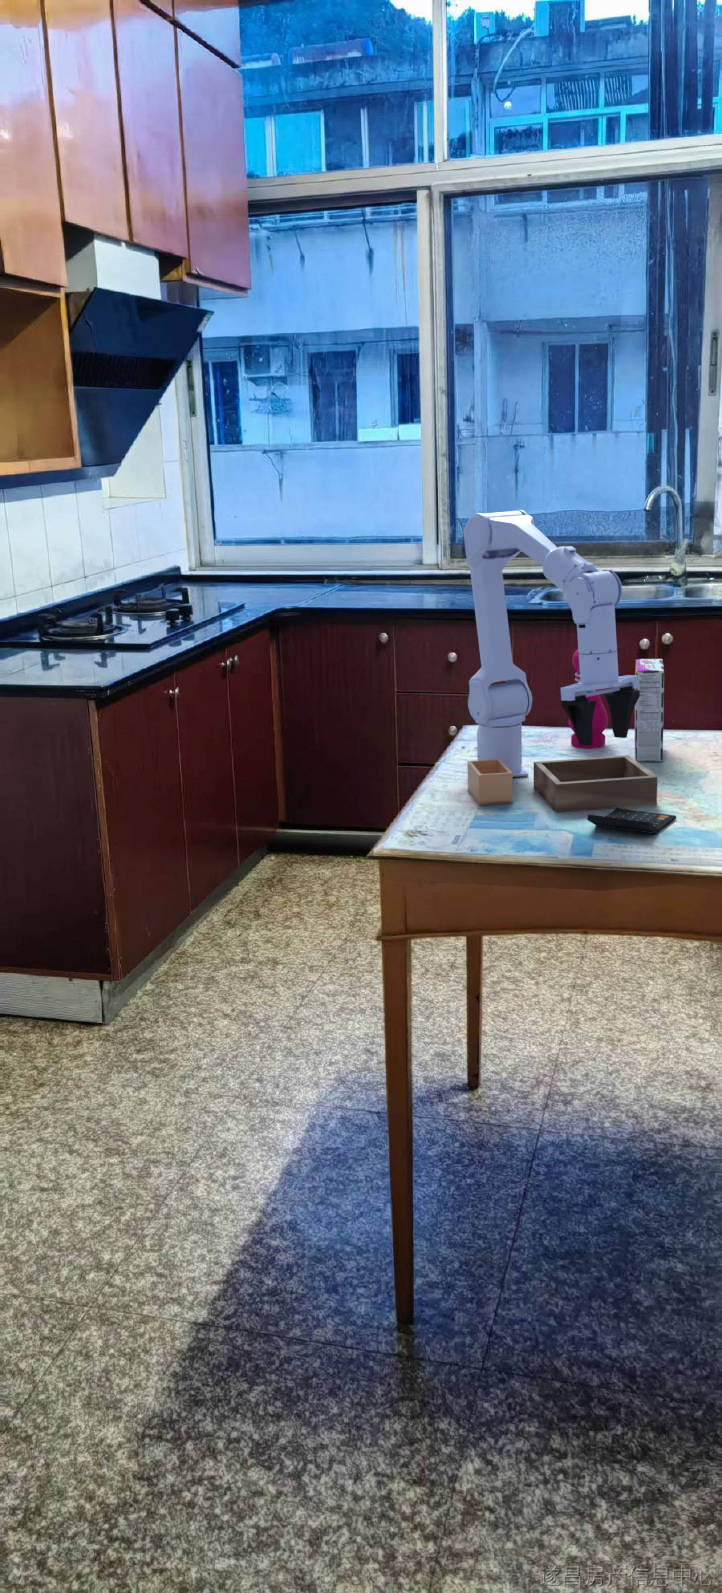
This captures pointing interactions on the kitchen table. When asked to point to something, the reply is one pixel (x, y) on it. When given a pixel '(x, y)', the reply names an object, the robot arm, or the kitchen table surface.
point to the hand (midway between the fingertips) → (603, 741)
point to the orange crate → (490, 782)
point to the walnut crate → (595, 783)
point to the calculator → (633, 820)
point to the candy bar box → (649, 710)
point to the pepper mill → (598, 718)
